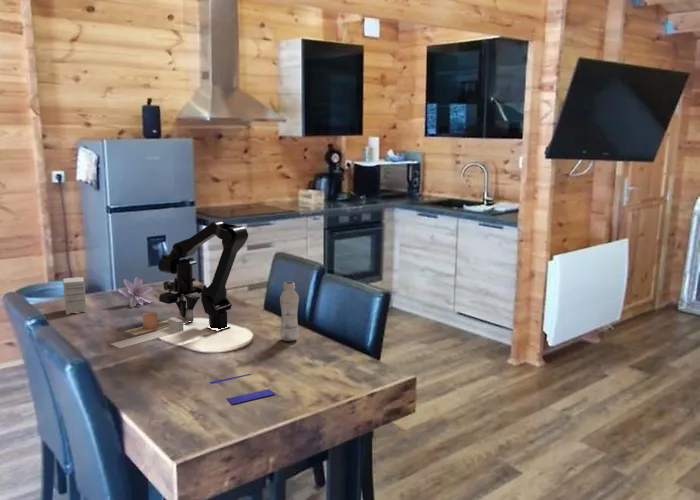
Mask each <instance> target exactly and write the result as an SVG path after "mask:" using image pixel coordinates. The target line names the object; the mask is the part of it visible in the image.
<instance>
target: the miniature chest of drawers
mask: <svg viewBox="0 0 700 500" xmlns="http://www.w3.org/2000/svg"><path fill="white" fill-rule="evenodd" d="M62 285H63V286H62V287H63V296H64V297H63V298H64V307H65V309H64V310H65V314H66V313H74V312H84V311H86V312H87V304H86V303H87V302H86V288H85V286H86V285H85V280H84V277H83V276H78V277H67V278H63V279H62Z"/></svg>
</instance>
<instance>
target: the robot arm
mask: <svg viewBox="0 0 700 500" xmlns="http://www.w3.org/2000/svg"><path fill="white" fill-rule="evenodd" d="M214 237H217V238H218V239H220V240H221V245H222V248H223V249H222V252H221V255H220V258H219V261H218V264H217V267H216V269H215V271H214V275H213V278H212V280H211V283H208V284H206V285H203V284H199V285H194V282H196V278H195V277H193V275H194V274H193V270H194V269H193V265H196V264H198V263H197V260H196V259H194V258H193V257H191V256H194V254H195V253H196V252H197V251H198V250H199V248H200V246H202V245H203V244H205V243H207V242H208V241H210V240H211V239H213V238H214ZM248 238H249V233H248V230H247V228H246V227H245V226H243V225H237V224H232V223H227V222H224V221H222V220H217V221H212V222H210V223H209V224H208V225H206V226H205V227H204V228H203V229H201V230H200V231H198V232H196V233H195V234H193V235H191V237H189V238H187V239H183V240H181V241H177V242H175V243H174V244H173V245H172V249H171V250H170V252H169V254H168V253H167V254H162V255H161V258H160V260H159V262H158V264H157V268H158V270H159V272H161V273H163V274H164V273H165V274H171V275H176V277H174V280H173V282H171V281H170V280H166V281H163V290H164V291H167V292H163V293H160V295H159V297H158V299H159V302H160V303H163V304H167V305H171V304H175V305H176V306H177V308H178V312H179V311H180V313H181V315H182V317H183V318H184V317H185V313H186V308H188V309H191V310H193V311H194V308H195V307H196V305H197V304H198V301H199V300H201V304H202V306H203V311H204V314H207V315H208V326H209V325H210V327H211V328H218V329H221V328H225V327H227V325H228V311H229V310H232V305H233V304H232V303H231V302H230V300H229V299H228V297H227V294H228V293H227V292H228V291H227V288H226V286H227V282H228V279H229V277H230V273H231V270H232V269H233V265H234V263H235V260H236V257H237V253H239V251H240V250H241V249H242V248H243V246H244V245H245V244H246V242H247V240H248ZM173 292H174V293H173ZM199 294H200V296H201V297H200V296H199Z"/></svg>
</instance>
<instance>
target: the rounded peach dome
mask: <svg viewBox="0 0 700 500" xmlns="http://www.w3.org/2000/svg"><path fill="white" fill-rule="evenodd" d="M141 318H142V327H143V329H145V330H152V331H154V330H153V329H156V328H158V312H155V311H146V312H143V313H142V315H141ZM156 330H157V329H156Z"/></svg>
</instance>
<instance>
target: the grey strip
mask: <svg viewBox="0 0 700 500" xmlns="http://www.w3.org/2000/svg"><path fill="white" fill-rule="evenodd" d="M177 318H178V317H173V316H172V317H169V318H168V319H167V320H168V326H167V327H166V328H164V329H163V328H162V329H158V330H156V331H153V332H152V331H151V332H148V333H145V334H141V335H138V336H137V335H136V336H134V337H130V338H127V339H124V340H123V339H122V340H120V341H116V342H112V343H110V345H112V346H114V347H117V348H119V349H122V348H125V347H129V346H133V345H137V344H139V343H143V342H147V341H148V342H149V341H150V340H154V339H158V338H162V337H164V336H168V335H169V336H170V335H173V334H176V333H180V332H183V331H184V329H185V328H184V324H183V320H180V319H177Z"/></svg>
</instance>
